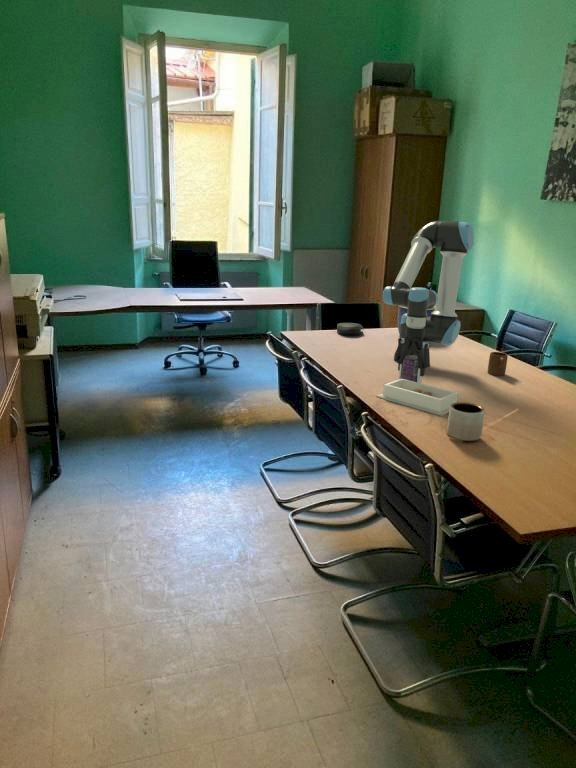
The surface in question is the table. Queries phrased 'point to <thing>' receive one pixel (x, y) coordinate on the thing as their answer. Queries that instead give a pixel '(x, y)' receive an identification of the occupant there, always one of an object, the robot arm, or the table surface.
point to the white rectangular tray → (419, 396)
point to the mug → (497, 363)
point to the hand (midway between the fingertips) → (410, 380)
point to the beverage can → (410, 368)
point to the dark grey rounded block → (349, 329)
